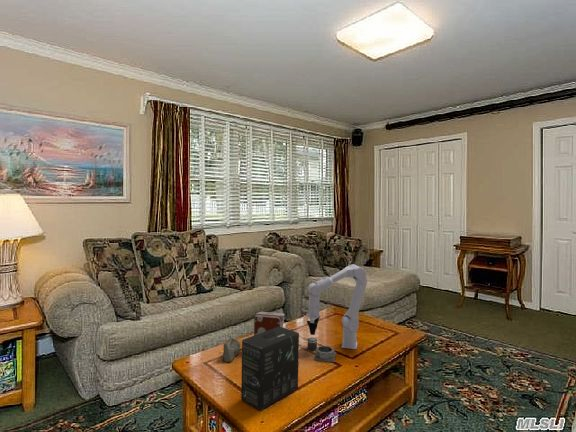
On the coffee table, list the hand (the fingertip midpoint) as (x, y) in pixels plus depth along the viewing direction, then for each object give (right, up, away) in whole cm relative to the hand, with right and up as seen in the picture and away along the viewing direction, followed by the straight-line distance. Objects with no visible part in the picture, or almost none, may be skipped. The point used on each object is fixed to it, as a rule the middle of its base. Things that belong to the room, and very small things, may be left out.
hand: (313, 331), depth 185 cm
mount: (+5, -10, -8) cm, 14 cm away
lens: (-1, -10, +1) cm, 10 cm away
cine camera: (-21, -10, -3) cm, 23 cm away
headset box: (-21, -12, -42) cm, 48 cm away
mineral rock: (-41, -10, -9) cm, 43 cm away
